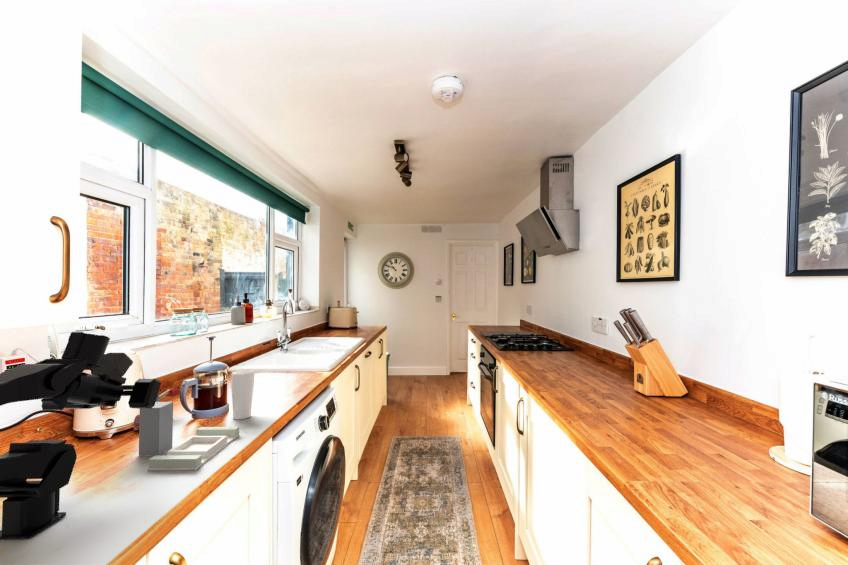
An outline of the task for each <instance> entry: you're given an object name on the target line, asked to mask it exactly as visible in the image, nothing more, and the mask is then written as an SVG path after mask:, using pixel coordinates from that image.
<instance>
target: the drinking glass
mask: <svg viewBox="0 0 848 565" xmlns="http://www.w3.org/2000/svg"><path fill="white" fill-rule="evenodd" d="M254 386H255V371H254V370H253V369H239V370H235V371H232V372H231V375H230V390H231V391H230V392H231V399H232V400H231V403H232V418H233V419H234V420H235V421H236V420H246V419H249V418H250V417H251V416H252V404H253V396H254Z"/></svg>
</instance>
